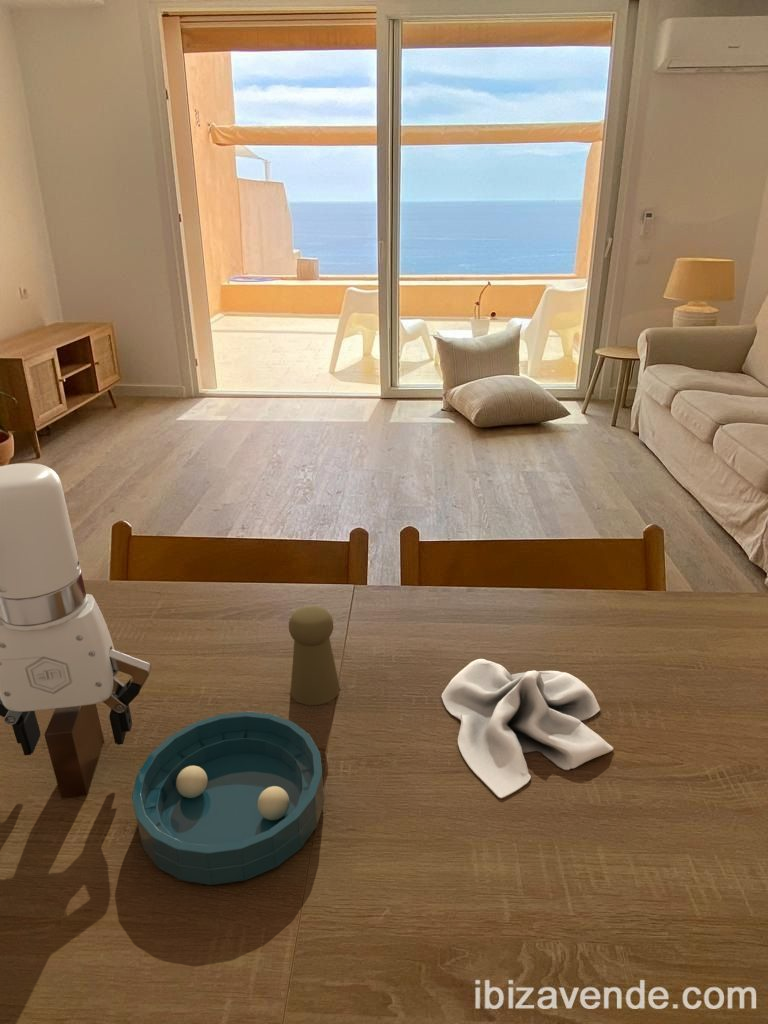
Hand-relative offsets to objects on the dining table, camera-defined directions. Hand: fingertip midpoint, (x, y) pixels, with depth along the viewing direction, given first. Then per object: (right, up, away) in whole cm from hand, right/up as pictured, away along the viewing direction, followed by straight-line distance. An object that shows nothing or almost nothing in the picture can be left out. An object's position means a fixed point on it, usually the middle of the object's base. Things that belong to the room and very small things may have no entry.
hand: (77, 739), depth 72 cm
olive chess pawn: (+23, +2, +13) cm, 27 cm away
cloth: (+48, -1, +7) cm, 48 cm away
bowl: (+17, -6, -4) cm, 18 cm away
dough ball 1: (+13, -3, -3) cm, 13 cm away
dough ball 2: (+21, -4, -6) cm, 22 cm away
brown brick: (0, -3, +2) cm, 4 cm away
